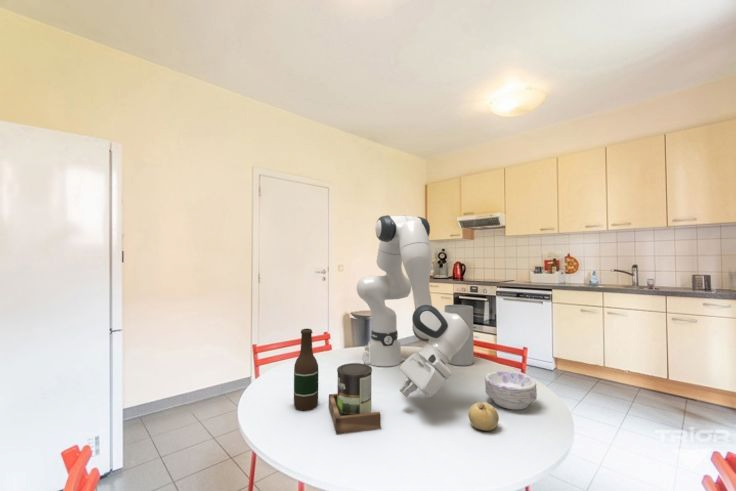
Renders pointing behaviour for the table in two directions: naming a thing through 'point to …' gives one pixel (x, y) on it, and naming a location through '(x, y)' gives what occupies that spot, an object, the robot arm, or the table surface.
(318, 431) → the table surface
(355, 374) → the coffee can
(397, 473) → the table surface
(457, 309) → the cylinder vase
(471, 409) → the onion
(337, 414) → the caddy
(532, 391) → the paper bowls
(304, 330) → the beer bottle
